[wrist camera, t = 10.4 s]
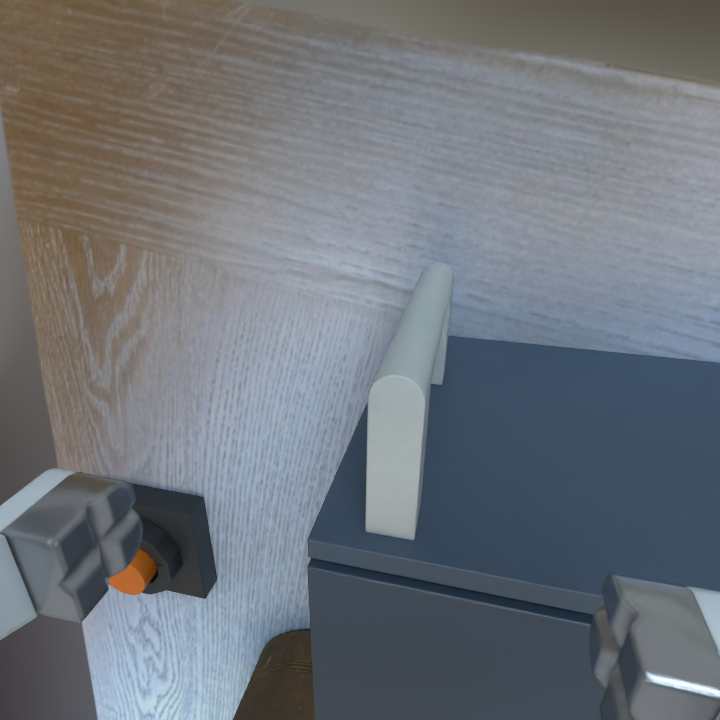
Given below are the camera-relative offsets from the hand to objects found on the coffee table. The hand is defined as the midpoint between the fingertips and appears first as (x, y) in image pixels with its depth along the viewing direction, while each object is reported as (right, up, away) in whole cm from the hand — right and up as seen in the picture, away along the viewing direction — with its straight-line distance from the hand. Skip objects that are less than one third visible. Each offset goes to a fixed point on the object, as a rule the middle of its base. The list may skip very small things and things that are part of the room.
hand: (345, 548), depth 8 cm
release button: (-19, -14, +34) cm, 41 cm away
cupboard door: (+13, +6, +19) cm, 24 cm away
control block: (-18, -12, +37) cm, 43 cm away
